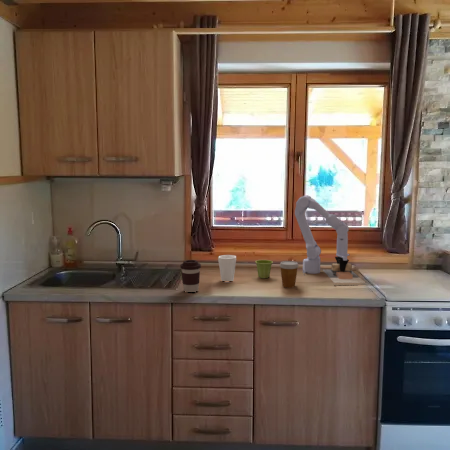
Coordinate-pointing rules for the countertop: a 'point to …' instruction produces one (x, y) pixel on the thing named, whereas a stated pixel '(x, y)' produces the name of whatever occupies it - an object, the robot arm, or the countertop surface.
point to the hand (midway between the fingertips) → (341, 270)
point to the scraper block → (336, 268)
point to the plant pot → (263, 268)
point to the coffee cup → (190, 275)
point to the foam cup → (227, 267)
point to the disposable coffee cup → (288, 273)
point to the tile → (344, 275)
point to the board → (336, 280)
